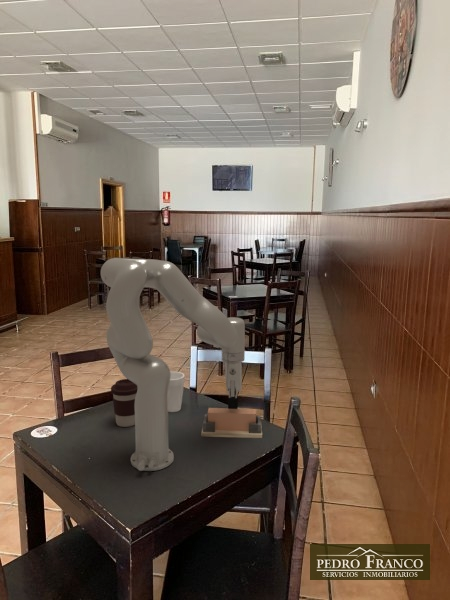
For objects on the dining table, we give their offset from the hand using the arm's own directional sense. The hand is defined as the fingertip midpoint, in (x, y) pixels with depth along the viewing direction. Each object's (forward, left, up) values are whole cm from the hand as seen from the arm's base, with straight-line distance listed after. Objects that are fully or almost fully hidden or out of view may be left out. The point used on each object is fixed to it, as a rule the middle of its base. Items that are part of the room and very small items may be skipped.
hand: (232, 407), depth 149 cm
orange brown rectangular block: (0, 0, -7) cm, 7 cm away
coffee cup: (+4, +37, -8) cm, 38 cm away
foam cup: (+17, +23, -8) cm, 30 cm away
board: (0, 0, -8) cm, 8 cm away
